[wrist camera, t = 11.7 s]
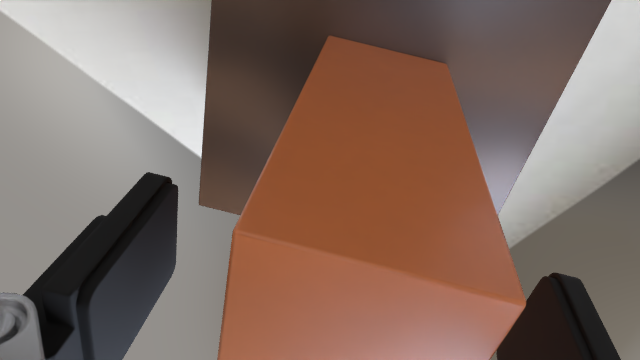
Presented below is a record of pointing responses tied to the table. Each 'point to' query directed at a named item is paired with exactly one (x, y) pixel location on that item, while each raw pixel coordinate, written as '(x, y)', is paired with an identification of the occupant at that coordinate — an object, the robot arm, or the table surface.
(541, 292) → the robot arm
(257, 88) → the cabinet
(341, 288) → the box
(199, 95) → the table surface
